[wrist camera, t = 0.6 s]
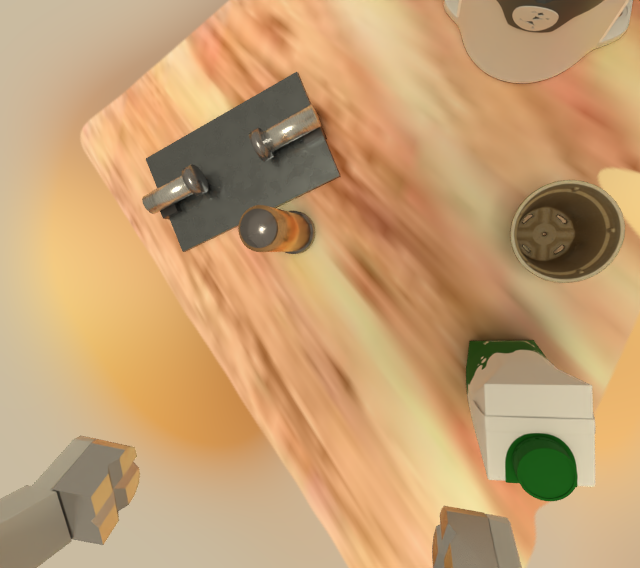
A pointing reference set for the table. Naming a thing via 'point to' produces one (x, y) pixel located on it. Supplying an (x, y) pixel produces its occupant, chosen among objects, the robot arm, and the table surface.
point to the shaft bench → (241, 164)
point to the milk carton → (530, 419)
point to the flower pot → (568, 231)
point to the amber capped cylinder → (276, 230)
